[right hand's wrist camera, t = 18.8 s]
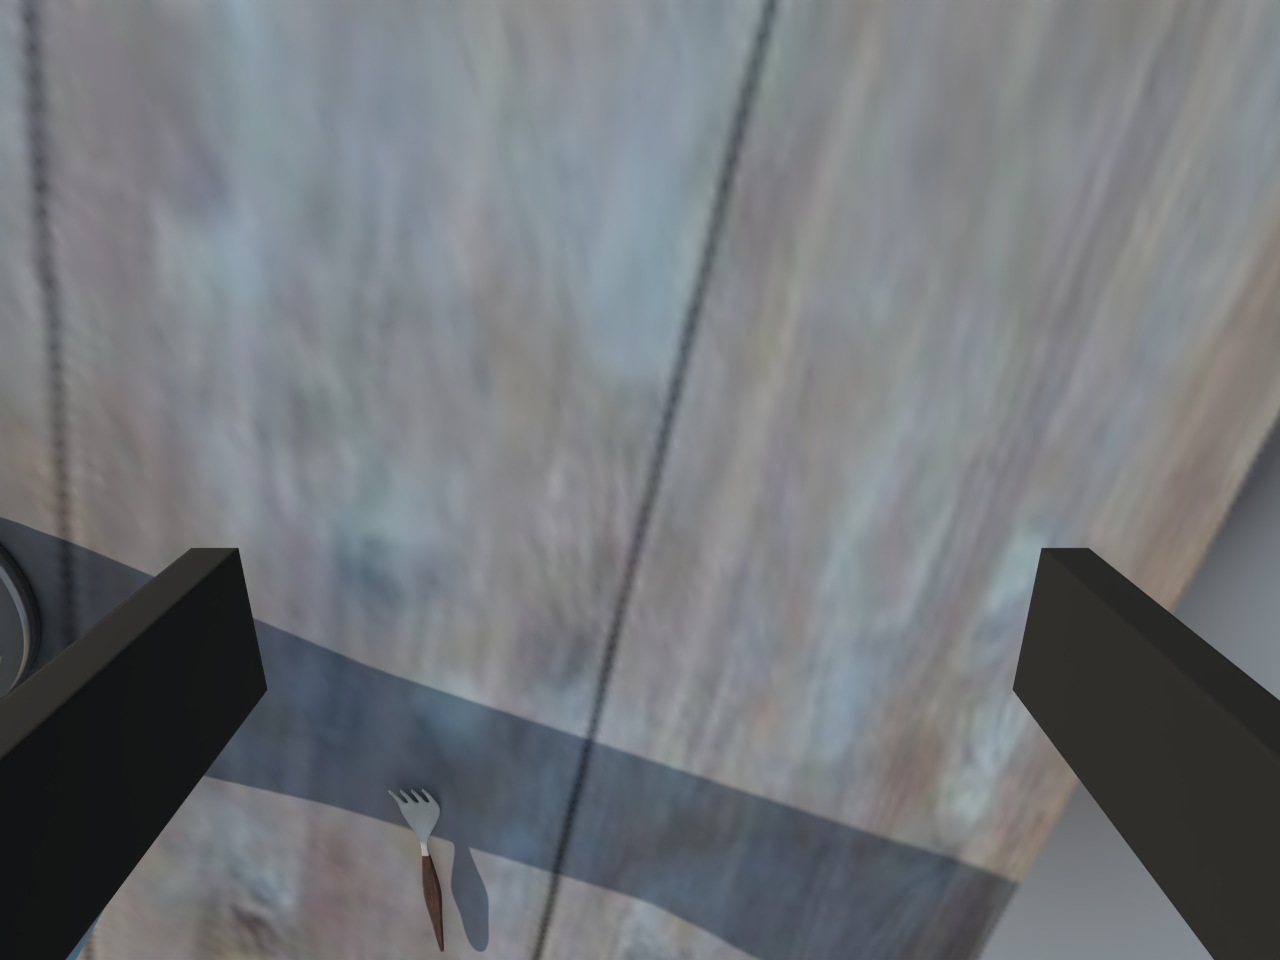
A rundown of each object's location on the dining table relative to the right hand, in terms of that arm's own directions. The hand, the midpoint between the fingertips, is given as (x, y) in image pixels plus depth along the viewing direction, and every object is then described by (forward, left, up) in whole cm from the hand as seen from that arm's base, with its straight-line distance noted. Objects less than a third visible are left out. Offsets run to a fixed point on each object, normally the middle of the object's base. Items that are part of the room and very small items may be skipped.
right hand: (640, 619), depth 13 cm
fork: (+23, +32, -29) cm, 49 cm away
